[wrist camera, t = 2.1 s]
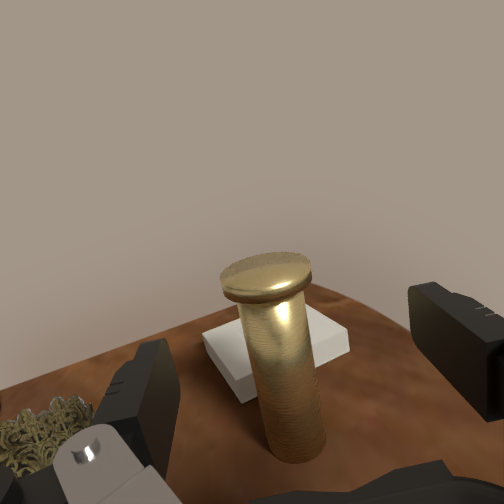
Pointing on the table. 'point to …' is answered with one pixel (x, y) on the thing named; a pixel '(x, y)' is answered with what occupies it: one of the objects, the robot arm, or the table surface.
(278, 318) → the gold flanged cylinder
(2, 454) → the cup
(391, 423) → the table surface
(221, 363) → the frame
